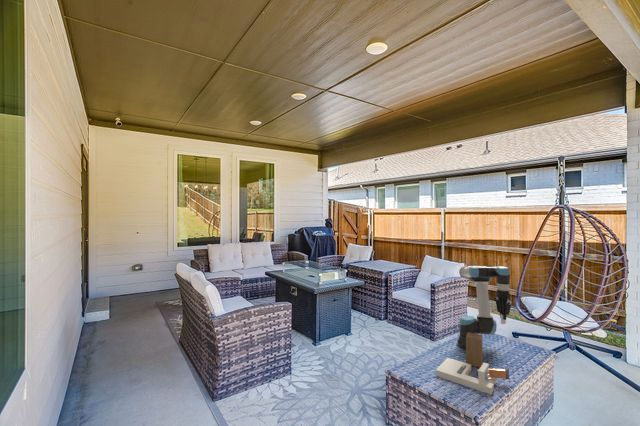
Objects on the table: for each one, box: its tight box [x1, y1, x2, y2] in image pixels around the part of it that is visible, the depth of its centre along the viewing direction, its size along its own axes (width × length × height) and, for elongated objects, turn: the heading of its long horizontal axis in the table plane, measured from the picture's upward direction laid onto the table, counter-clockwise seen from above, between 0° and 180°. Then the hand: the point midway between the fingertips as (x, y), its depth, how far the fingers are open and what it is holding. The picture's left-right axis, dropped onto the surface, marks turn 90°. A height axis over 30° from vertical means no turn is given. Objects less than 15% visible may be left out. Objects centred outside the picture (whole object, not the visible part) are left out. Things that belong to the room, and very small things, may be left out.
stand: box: [435, 357, 495, 396], centre depth 203 cm, size 22×33×12 cm, turn 49°
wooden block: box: [465, 332, 484, 368], centre depth 221 cm, size 10×10×20 cm
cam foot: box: [476, 367, 510, 386], centre depth 197 cm, size 18×10×9 cm, turn 79°
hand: (503, 323), depth 211 cm, fingers closed
